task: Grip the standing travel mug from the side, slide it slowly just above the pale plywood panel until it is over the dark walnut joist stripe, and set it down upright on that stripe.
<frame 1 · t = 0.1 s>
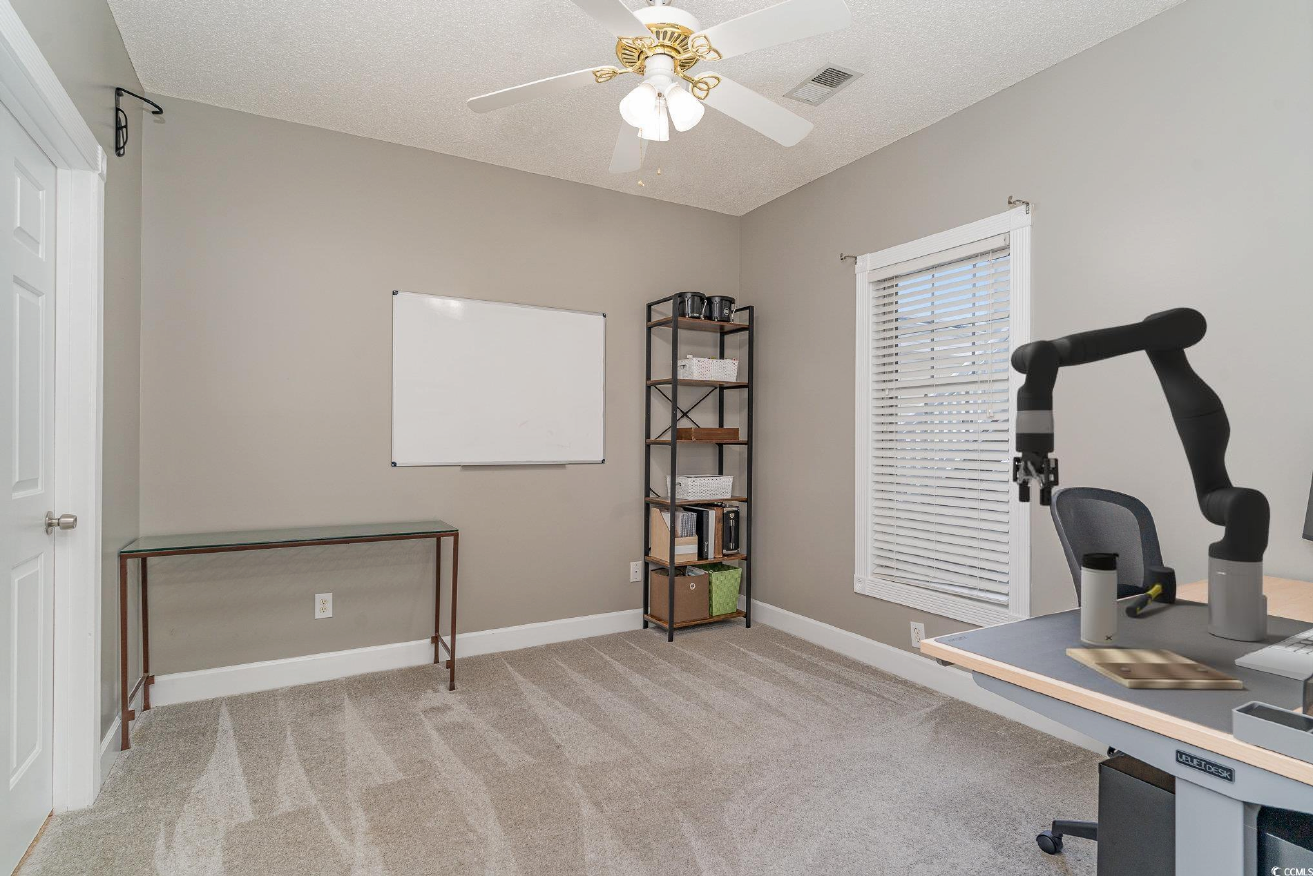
hand: (1034, 503, 149), 29 cm above the table, tool pointing down, fingers open, 8 cm apart
plywood panel: (1148, 670, 126), on the table
travel mug: (1099, 648, 140), on the table
mallet: (1149, 610, 173), on the table
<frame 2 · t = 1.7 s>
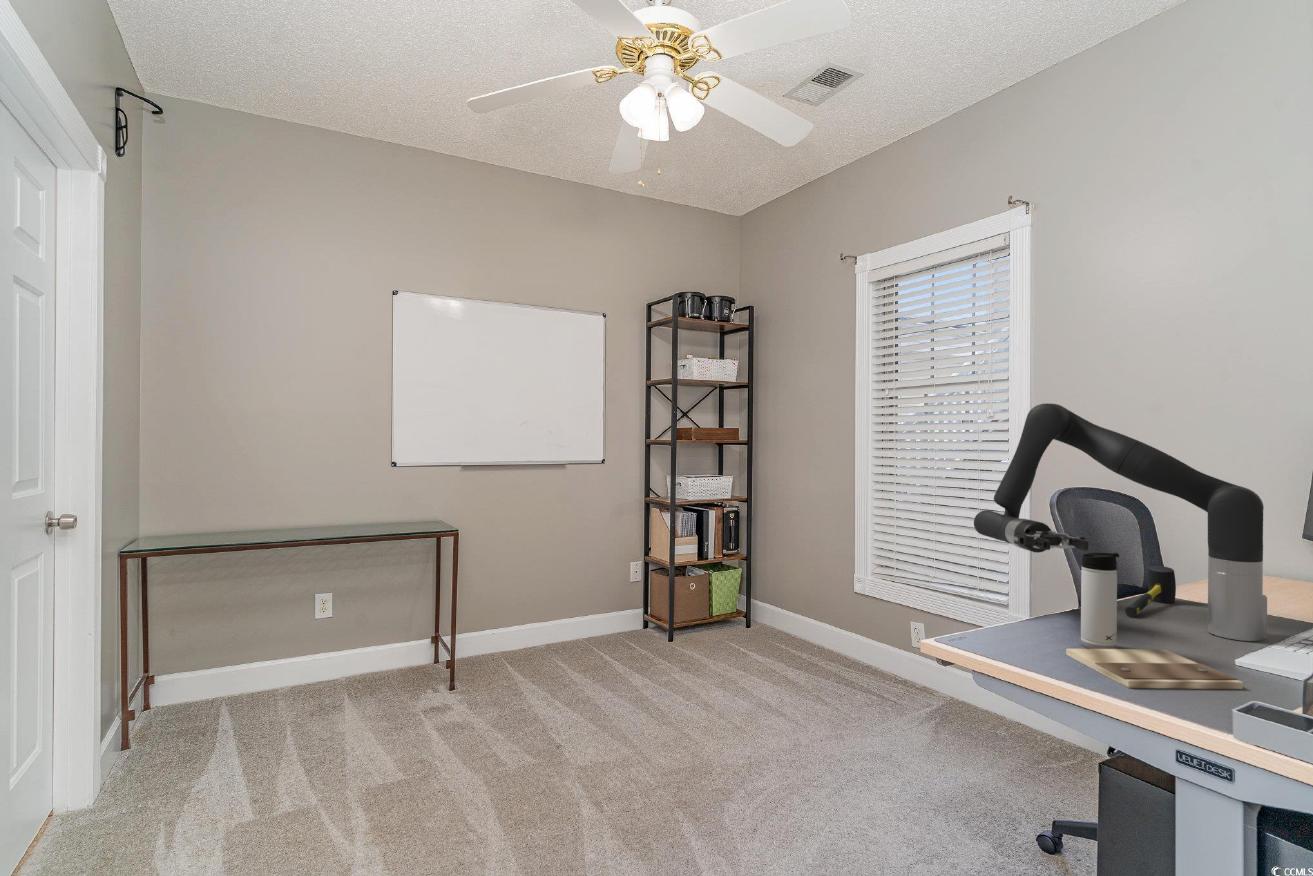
hand: (1067, 545, 151), 20 cm above the table, tool horizontal, fingers open, 8 cm apart
nothing on the table moved.
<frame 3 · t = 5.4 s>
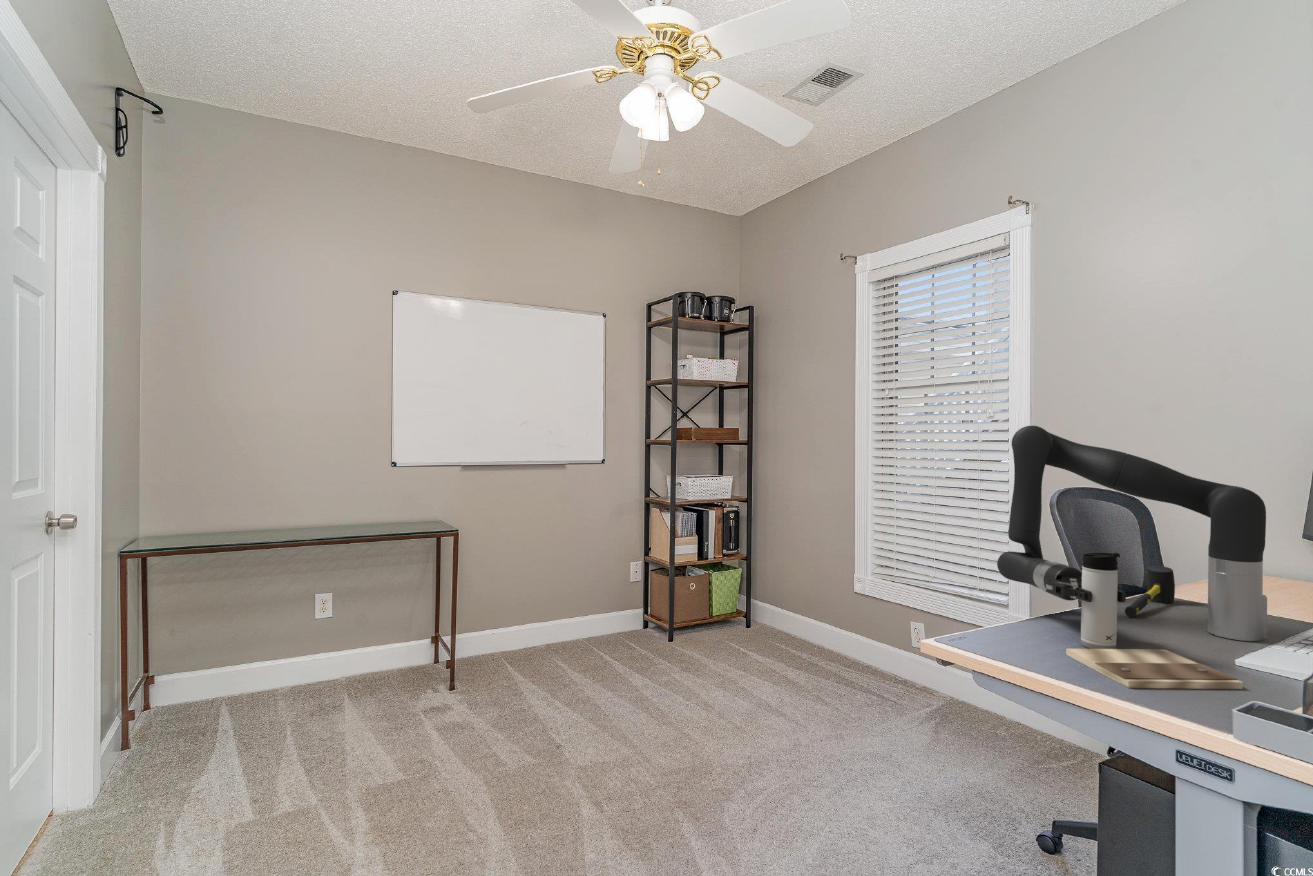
hand: (1106, 597, 138), 11 cm above the table, tool horizontal, fingers closed on travel mug, 6 cm apart
travel mug: (1099, 648, 140), on the table, touching gripper
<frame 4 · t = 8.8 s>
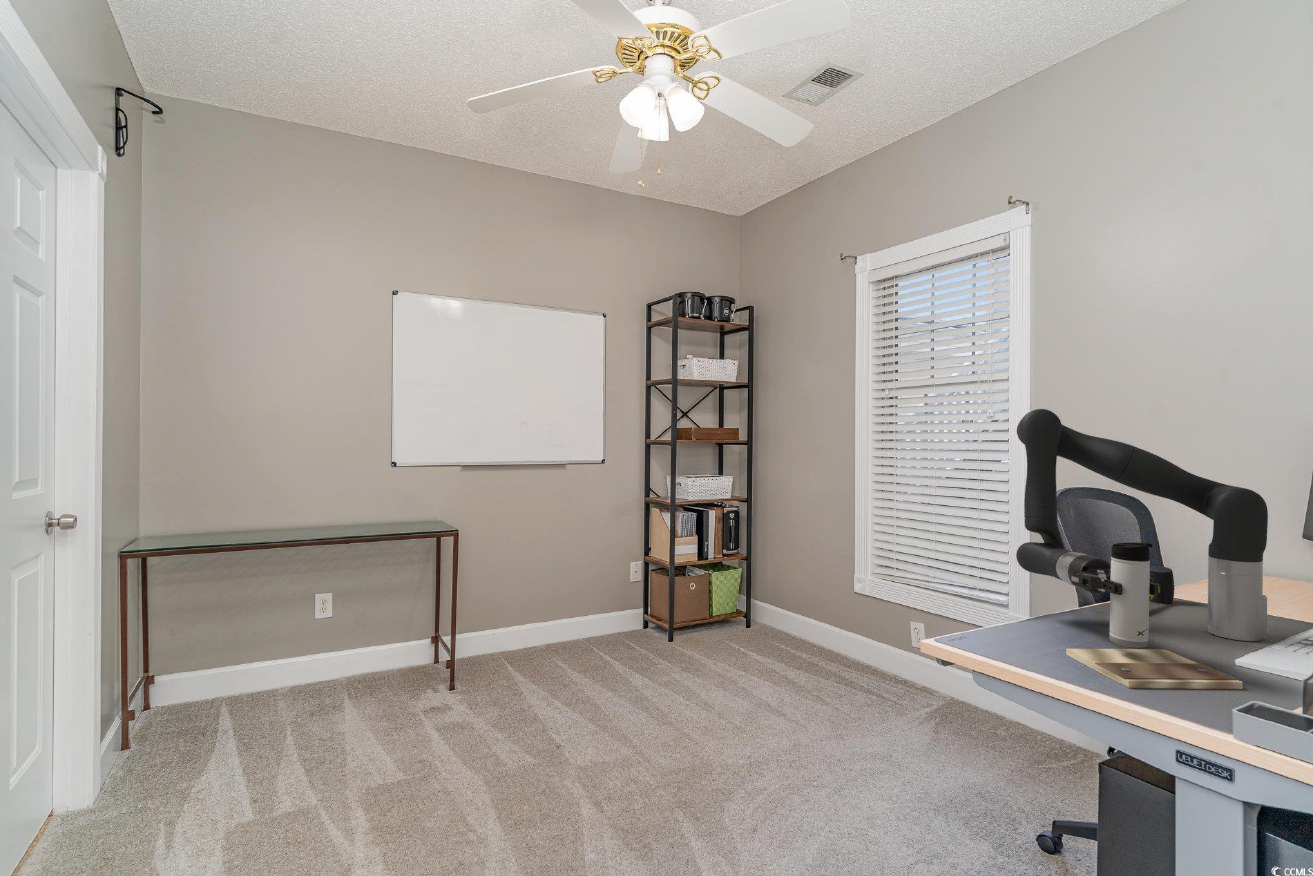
hand: (1138, 590, 129), 15 cm above the table, tool horizontal, fingers closed on travel mug, 6 cm apart
travel mug: (1129, 644, 131), point 3 cm above the table, touching gripper
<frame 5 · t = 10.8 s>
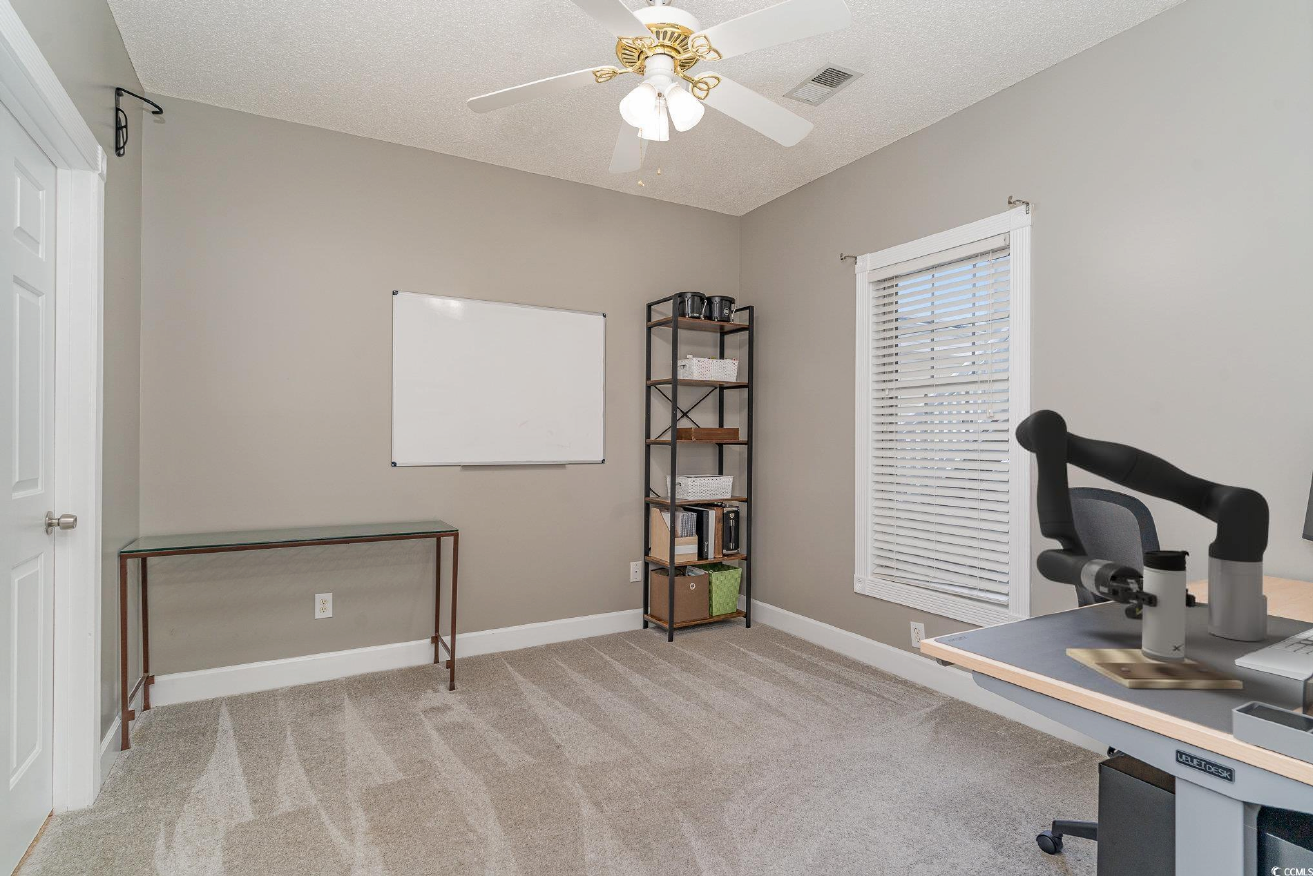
hand: (1174, 601, 120), 15 cm above the table, tool horizontal, fingers closed on travel mug, 6 cm apart
travel mug: (1163, 659, 123), point 3 cm above the table, touching gripper
when the fingers open (13 cm above the table, at t = 12.2 s): travel mug stays where it is, resting on plywood panel.
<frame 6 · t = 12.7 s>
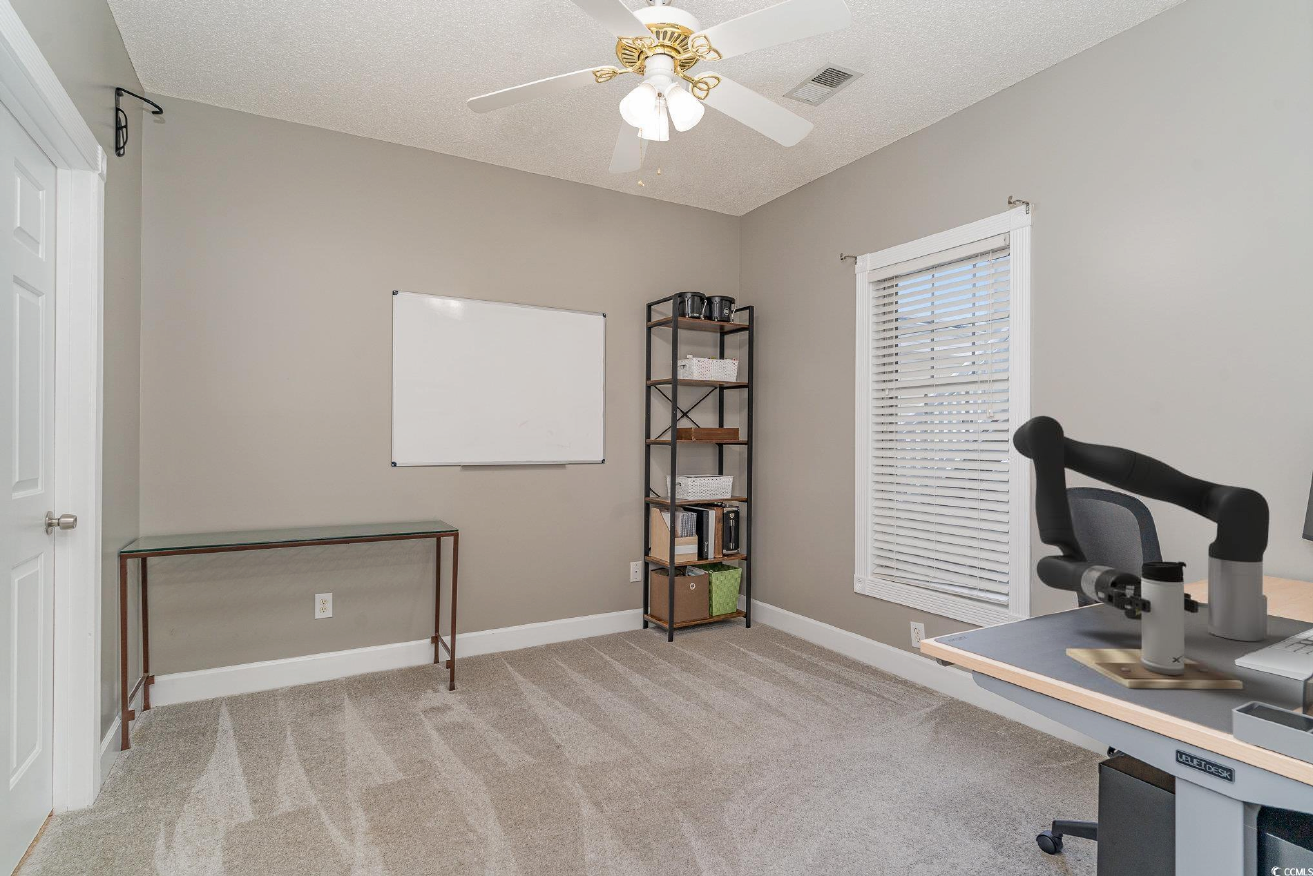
hand: (1172, 607, 120), 14 cm above the table, tool horizontal, fingers open, 8 cm apart
travel mug: (1163, 671, 123), point 1 cm above the table, touching plywood panel
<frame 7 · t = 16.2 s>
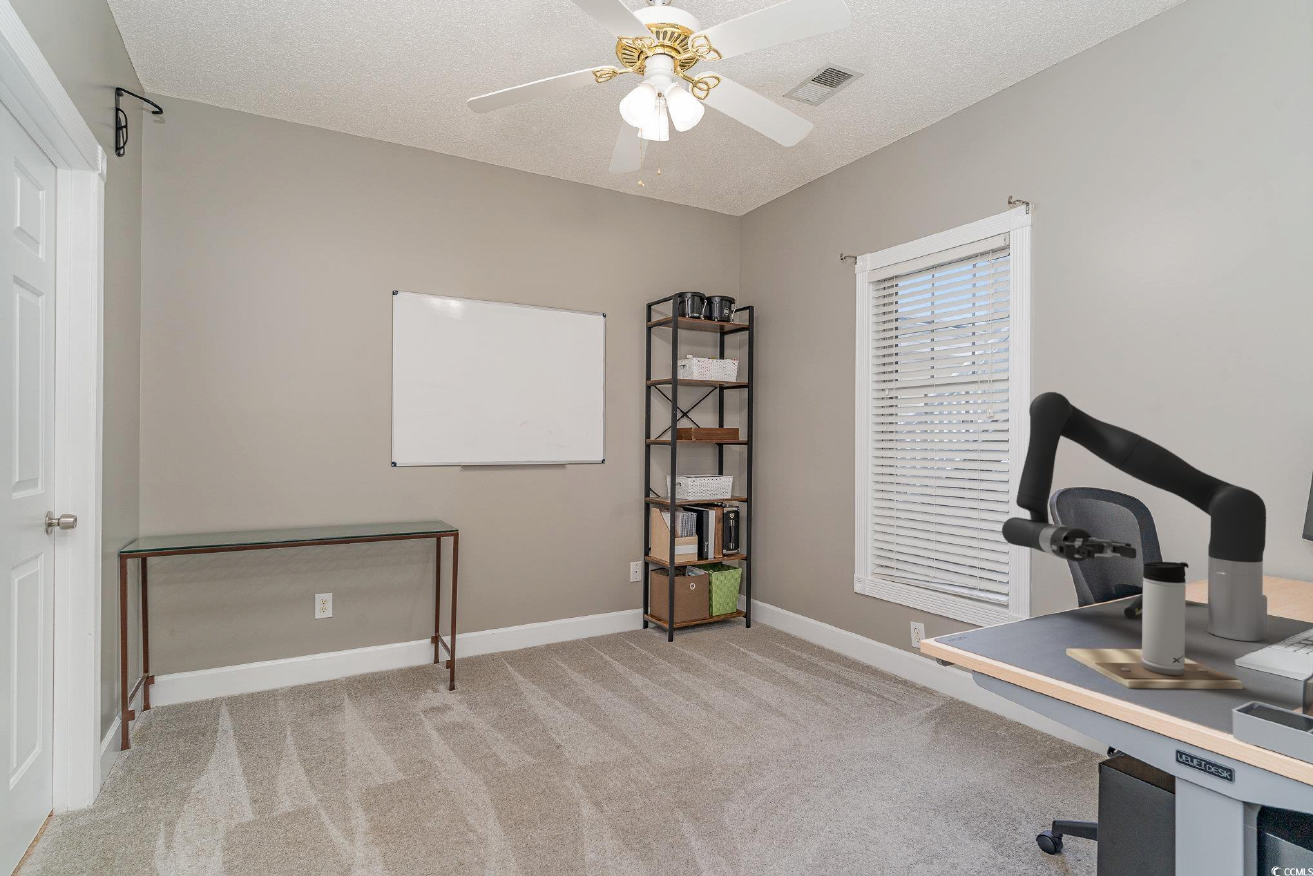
hand: (1113, 553, 138), 20 cm above the table, tool horizontal, fingers open, 8 cm apart
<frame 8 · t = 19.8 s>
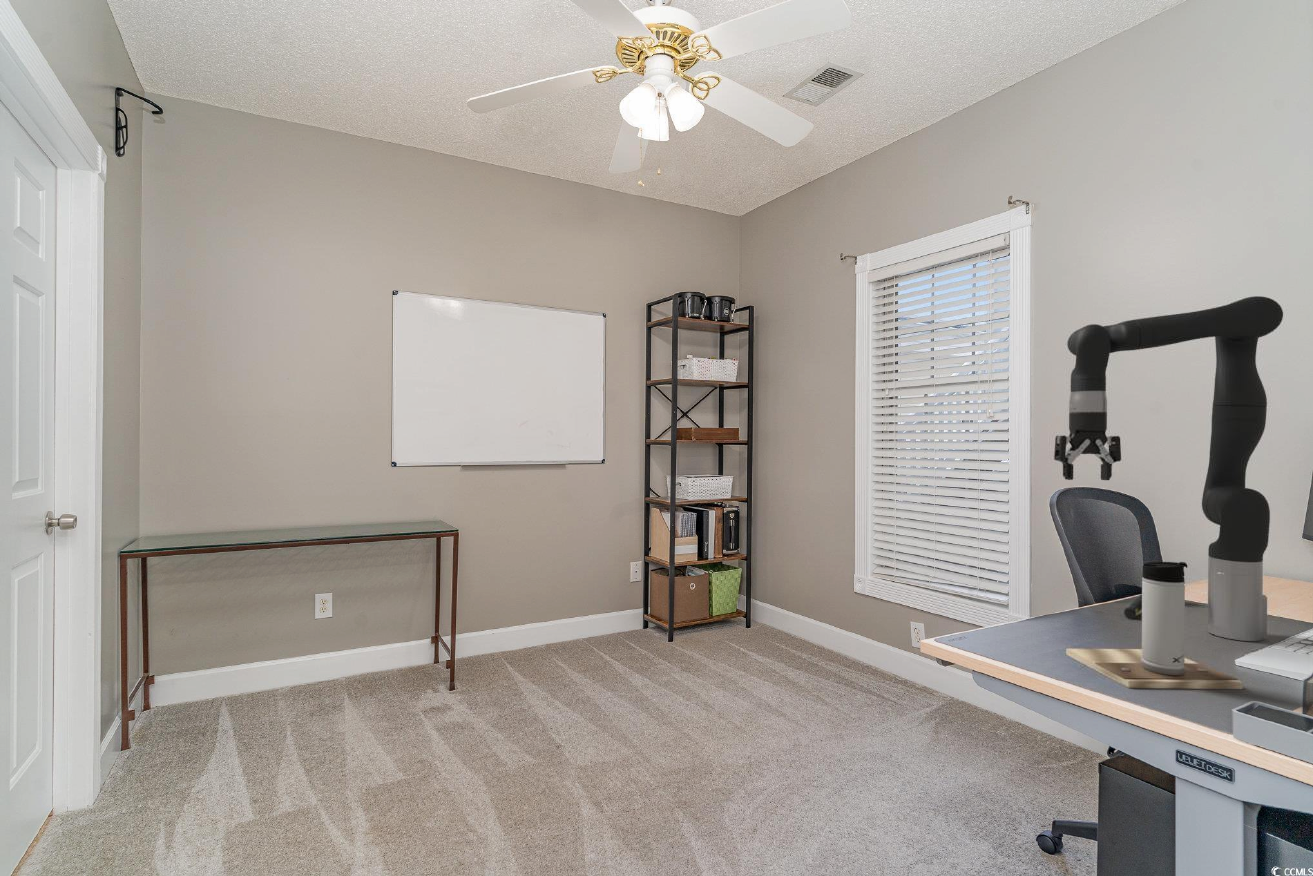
hand: (1087, 479, 157), 34 cm above the table, tool pointing down, fingers open, 8 cm apart
at the end: travel mug inside the target area on the plywood panel (0.2 cm from its centre), point 1.2 cm above the plywood panel's base; travel mug tilted 0°; the gripper is holding nothing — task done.
